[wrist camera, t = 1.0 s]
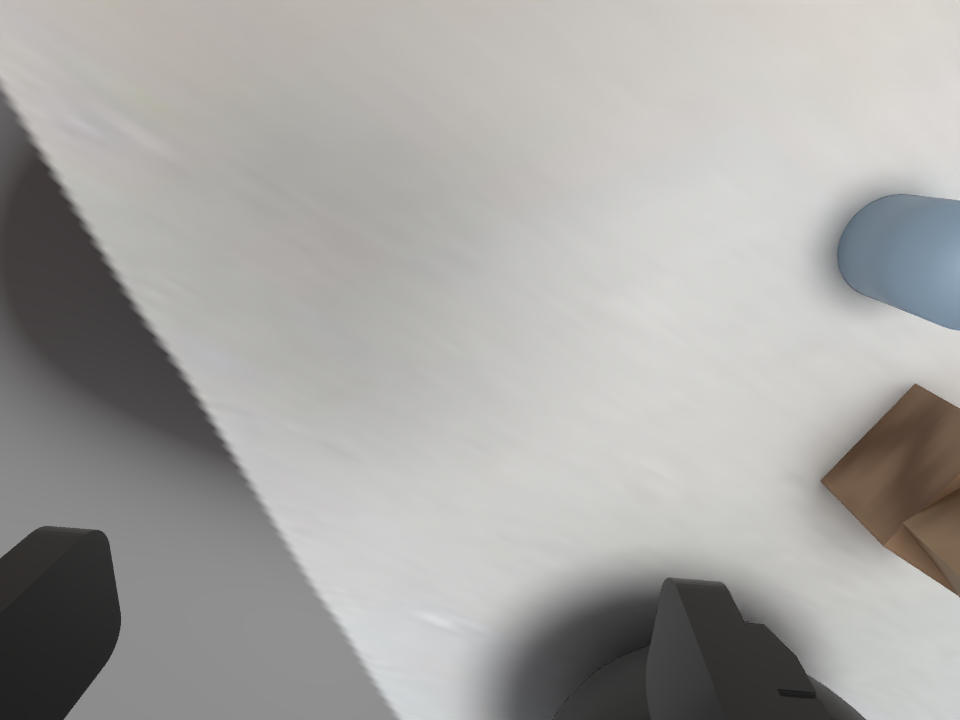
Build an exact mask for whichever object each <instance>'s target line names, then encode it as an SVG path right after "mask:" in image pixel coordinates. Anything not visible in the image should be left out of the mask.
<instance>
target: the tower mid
mask: <svg viewBox="0 0 960 720" xmlns="http://www.w3.org/2000/svg"><path fill="white" fill-rule="evenodd" d="M903 524H904V526H905V527H906V528H907V529H908V531H909V532H910V533H911V535H912V536H913V537H914V539H915V540H916V541H917V542H918V544H919V545H920V546H921V548H922V549H923V550H924V552H925V553H926V554H927V556H928V557H929V558H930V559H931V561H932V562H933V563H934V565H935V566H936V567H937V569H938V570H939V571H940V572H941V574H942V575H943V576H944V578H945V579H946V580H947V582H948V583H949V584H950V586H951V587H952V588H953V589H954V591H955V592H956V593H957V595H958V596H959V597H960V488H959V489H957V490H955V491H954V492H952V493H950V494H949V495H947V496H946V497H944V498H942V499H941V500H939V501H937V502H936V503H934V504H932V505H931V506H929V507H927V508H926V509H924V510H923V511H921V512H919V513H918V514H916V515H914V516H913V517H911V518H909V519H908V520H906V521H904V522H903Z"/></svg>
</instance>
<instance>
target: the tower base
mask: <svg viewBox="0 0 960 720" xmlns="http://www.w3.org/2000/svg"><path fill="white" fill-rule="evenodd" d="M821 482H822V483H823V484H824V485H825V486H826V487H827V488H828V489H829V490H830V491H831V492H832V493H833V494H834V495H835V496H836V497H837V498H838V500H839V501H840V502H841V503H842V504H843V505H844V506H845V507H846V508H847V509H848V510H849V511H850V512H851V513H852V514H853V515H854V516H855V517H856V518H857V519H858V520H859V521H860V522H861V523H862V524H863V525H864V527H865V528H866V529H867V530H868V531H869V532H870V533H871V534H872V535H873V536H874V537H875V538H876V539H877V540H878V541H879V542H880V543H881V544H882V545H883V546H884V547H886V548H887V549H889V550H890V551H892V552H893V553H895V554H896V555H898V556H899V557H901V558H902V559H904V560H905V561H907V562H908V563H910V564H911V565H913V566H914V567H916V568H917V569H919V570H920V571H922V572H923V573H925V574H926V575H928V576H929V577H931V578H932V579H934V580H935V581H937V582H938V583H940V584H941V585H943V586H944V587H946V588H947V589H949V590H950V591H952V592H953V593H955V594H956V595H957V593H956V592H955V591H954V589H953V588H952V587H951V586H950V584H949V583H948V582H947V580H946V579H945V578H944V576H943V575H942V574H941V572H940V571H939V570H938V569H937V567H936V566H935V565H934V563H933V562H932V561H931V559H930V558H929V557H928V556H927V554H926V553H925V552H924V550H923V549H922V548H921V546H920V545H919V544H918V542H917V541H916V540H915V539H914V537H913V536H912V535H911V533H910V532H909V531H908V529H907V528H906V527H905V526H904V524H903V522H904V521H906V520H908V519H909V518H911V517H913V516H914V515H916V514H918V513H919V512H921V511H923V510H924V509H926V508H927V507H929V506H931V505H932V504H934V503H936V502H937V501H939V500H941V499H942V498H944V497H946V496H947V495H949V494H950V493H952V492H954V491H955V490H957V489H959V488H960V409H959V408H958V407H956V406H954V405H952V404H951V403H949V402H947V401H945V400H943V399H942V398H940V397H938V396H936V395H935V394H933V393H931V392H929V391H928V390H926V389H924V388H922V387H921V386H919V385H917V384H915V385H914V386H913V387H912V388H911V389H910V390H909V391H908V392H907V393H906V394H905V395H904V396H903V397H902V398H901V399H900V400H899V401H898V402H897V403H896V404H895V405H894V406H893V407H892V408H891V409H890V410H889V411H888V412H887V413H886V414H885V415H884V416H883V417H882V418H881V419H880V420H879V421H878V423H877V424H876V425H875V426H874V427H873V428H872V429H871V430H870V431H869V432H868V433H867V434H866V435H865V436H864V437H863V438H862V439H861V440H860V441H859V442H858V443H857V444H856V445H855V446H854V447H853V448H852V449H851V450H850V451H849V452H848V453H847V454H846V455H845V456H844V457H843V458H842V459H841V460H840V461H839V462H838V463H837V464H836V466H835V467H834V468H833V469H832V470H831V471H830V472H829V473H828V474H827V475H826V476H825V477H824V478H823V479H822V480H821Z"/></svg>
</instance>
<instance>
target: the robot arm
mask: <svg viewBox="0 0 960 720" xmlns="http://www.w3.org/2000/svg"><path fill="white" fill-rule="evenodd" d="M120 626H121V612H120V606H119V600H118V594H117V588H116V582H115V576H114V570H113V563H112V557H111V551H110V545H109V541H108V538H107V536H106V535H105V534H104V533H103V532H102V531H99V530H91V529H79V528H66V527H53V526H44V527H40V528H38V529H36V530H34V531H33V532H32V533H31V534H29V535H28V536H27V537H26V538H24V539H23V540H22V541H21V542H20V543H18V544H17V545H16V546H15V547H14V548H12V549H11V550H10V551H9V552H8V553H6V554H5V555H4V556H3V557H2V558H0V720H64V718H65V717H66V716H67V714H68V713H69V712H70V710H71V709H72V708H73V706H74V705H75V704H76V702H77V701H78V700H79V699H80V697H81V696H82V694H83V693H84V692H85V691H86V689H87V688H88V687H89V685H90V684H91V683H92V681H93V680H94V679H95V677H96V676H97V675H98V673H99V672H100V671H101V670H102V668H103V667H104V666H105V664H106V663H107V661H108V660H109V658H110V656H111V655H112V652H113V650H114V648H115V645H116V643H117V640H118V636H119V631H120ZM646 695H647V703H648V708H649V713H650V717H651V720H832V719H831V717H830V716H829V714H828V712H827V710H826V709H825V707H824V705H823V703H822V701H821V700H818V699H817V697H816V691H815V689H814V687H813V685H812V684H811V682H810V680H809V678H808V676H807V675H806V673H805V671H804V669H803V667H802V666H801V664H800V662H799V660H798V659H797V657H796V655H795V654H794V653H793V652H792V651H791V650H789V649H788V648H787V647H786V646H785V645H784V644H783V643H782V642H781V641H780V640H779V639H778V638H777V637H776V636H775V635H774V634H773V633H772V632H771V631H770V630H769V629H768V628H767V627H766V626H765V625H764V624H752V623H744V621H743V619H742V617H741V615H740V613H739V611H738V609H737V607H736V605H735V603H734V601H733V599H732V597H731V594H730V592H729V591H728V589H727V587H726V586H725V585H724V584H723V583H722V582H715V581H703V580H690V579H678V578H667V579H666V580H665V581H664V583H663V586H662V590H661V594H660V599H659V604H658V609H657V614H656V619H655V624H654V628H653V633H652V638H651V643H650V648H649V653H648V658H647V665H646Z"/></svg>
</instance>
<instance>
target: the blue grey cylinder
mask: <svg viewBox="0 0 960 720" xmlns="http://www.w3.org/2000/svg"><path fill="white" fill-rule="evenodd" d="M838 265H839V269H840V272H841V274H842V276H843V278H844V280H845V281H846V282H847V284H848V285H849V286H850V287H851V288H853V289H854V290H856V291H857V292H859V293H861V294H864V295H866V296H868V297H871V298H873V299H876V300H878V301H881V302H883V303H886V304H888V305H891V306H893V307H896V308H898V309H901V310H903V311H906V312H908V313H911V314H913V315H916V316H918V317H921V318H923V319H926V320H928V321H931V322H933V323H936V324H938V325H941V326H943V327H946V328H949V329H953V330H960V201H959V200H951V199H942V198H933V197H924V196H916V195H906V194H897V195H890V196H886V197H883V198H880V199H878V200H876V201H873V202H872V203H870V204H868V205H867V206H865V207H864V208H863V209H861V210H860V211H859V212H858V213H857V214H856V215H855V216H854V217H853V218H852V220H851V221H850V222H849V224H848V225H847V227H846V228H845V230H844V232H843V234H842V237H841V239H840V242H839V247H838Z"/></svg>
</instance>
